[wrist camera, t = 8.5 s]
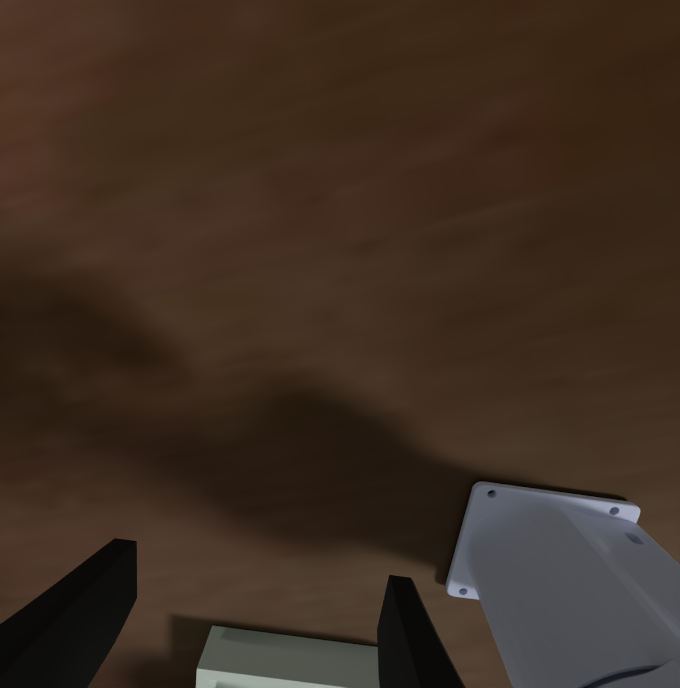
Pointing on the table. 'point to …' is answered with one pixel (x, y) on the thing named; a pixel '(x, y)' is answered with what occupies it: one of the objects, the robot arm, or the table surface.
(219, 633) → the tray
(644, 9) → the table surface
